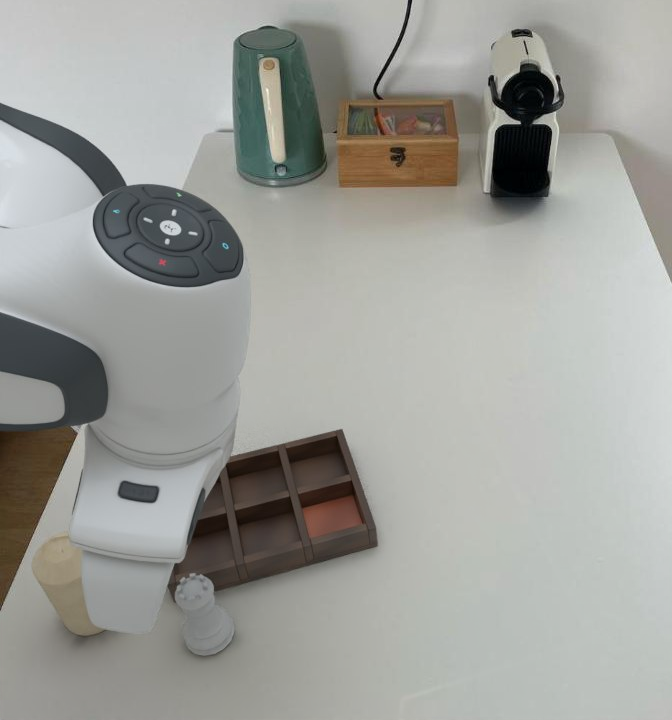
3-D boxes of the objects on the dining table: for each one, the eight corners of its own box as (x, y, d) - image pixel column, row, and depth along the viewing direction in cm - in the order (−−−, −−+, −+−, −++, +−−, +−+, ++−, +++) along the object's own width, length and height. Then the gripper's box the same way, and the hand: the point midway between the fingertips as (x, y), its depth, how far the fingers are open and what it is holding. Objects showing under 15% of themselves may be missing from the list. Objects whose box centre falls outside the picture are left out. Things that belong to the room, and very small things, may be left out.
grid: (174, 602, 75) (166, 584, 73) (162, 493, 85) (154, 474, 83) (378, 546, 79) (376, 527, 77) (344, 447, 89) (342, 428, 86)
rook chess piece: (191, 611, 74) (172, 562, 69) (239, 612, 74) (223, 563, 69) (180, 658, 71) (158, 610, 66) (230, 658, 71) (212, 610, 66)
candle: (122, 575, 78) (91, 512, 71) (126, 625, 74) (94, 563, 67) (63, 593, 76) (25, 530, 70) (64, 644, 72) (24, 583, 66)
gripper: (155, 296, 57) (153, 413, 67) (56, 560, 43) (73, 658, 53) (245, 314, 58) (230, 427, 68) (176, 579, 44) (170, 671, 54)
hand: (160, 531), depth 60 cm, fingers open, 8 cm apart
